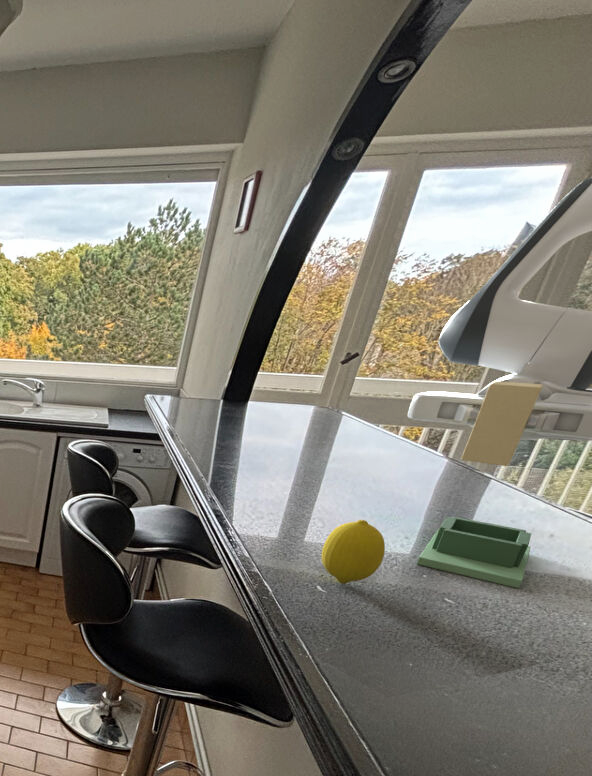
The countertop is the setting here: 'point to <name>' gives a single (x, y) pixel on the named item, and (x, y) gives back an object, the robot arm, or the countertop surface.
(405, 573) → the countertop surface
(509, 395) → the cream pad
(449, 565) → the base holder
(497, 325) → the robot arm
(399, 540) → the countertop surface
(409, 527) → the countertop surface
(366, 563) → the lemon
